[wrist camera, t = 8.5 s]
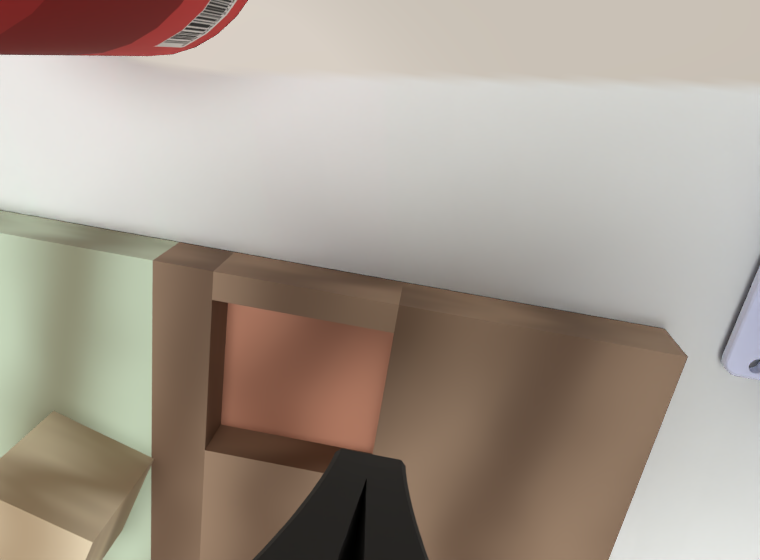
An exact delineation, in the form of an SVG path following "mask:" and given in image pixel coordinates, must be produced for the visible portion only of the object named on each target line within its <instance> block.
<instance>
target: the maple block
mask: <svg viewBox="0 0 760 560" xmlns="http://www.w3.org/2000/svg"><path fill="white" fill-rule="evenodd" d="M153 460H154V458H152V457H149V456H147V455H145V454H143V453H141V452H139V451H137V450H135V449H133V448H131V447H128V446H126V445H124V444H122V443H120V442H118V441H116V440H114V439H112V438H110V437H107V436H105V435H103V434H101V433H99V432H97V431H95V430H93V429H91V428H89V427H86V426H84V425H82V424H80V423H78V422H76V421H74V420H72V419H70V418H68V417H65V416H63V415H61V414H59V413H57V412H55V411H53V412H52V413H50V414H49V415H48V416H47V417H46V418H45V419H44V420H43V421H41V422H40V423H39V424H38V425H37V426H36V427H35V428H34V429H33V430H31V431H30V432H29V433H28V434H27V435H26V436H25V437H24V438H22V439H21V440H20V441H19V442H18V443H17V444H16V445H15V446H14V447H12V448H11V449H10V450H9V451H8V452H7V453H6V454H5V455H3V456H2V457H1V458H0V560H102V559H103V558H104V556H105V555H106V553H107V552H108V551H109V549H110V548H111V546H112V545H113V543H114V542H115V540H116V539H117V537H118V536H119V535H120V533H121V532H122V530H123V528H124V525H125V523H126V521H127V519H128V516H129V514H130V512H131V510H132V507H133V505H134V503H135V501H136V498H137V496H138V494H139V492H140V489H141V487H142V485H143V483H144V480H145V478H146V476H147V474H148V471H149V469H150V467H151V464H152V462H153Z"/></svg>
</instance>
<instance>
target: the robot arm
mask: <svg viewBox="0 0 760 560" xmlns="http://www.w3.org/2000/svg"><path fill="white" fill-rule="evenodd" d="M757 359H760V266H759V268H758V271H757V273H756V276H755V278H754V280H753V283H752V285H751V288H750V290H749V293H748V295H747V297H746V300H745V302H744V305H743V307H742V309H741V312H740V314H739V317H738V319H737V321H736V324H735V326H734V329H733V331H732V333H731V336H730V338H729V341H728V343H727V345H726V348H725V350H724V353H723V355H722V359H721V362H722V365H723V367H724V368H725V369H726V370H727V371H728V372H729V373H730V374H732V375H735V376H739V377H745V378H750V379H756V380H760V362H759V363H758V365H757V366H755V367H749V364H750V363H751V362H752V361H754V360H757ZM253 560H429V559H428V556H427V553H426V550H425V547H424V544H423V541H422V538H421V535H420V532H419V528H418V525H417V522H416V518H415V515H414V511H413V507H412V503H411V499H410V494H409V489H408V484H407V477H406V466H405V464H404V463H403V462H402V460H399V459H394V458H389V457H383V456H378V455H373V454H368V453H363V452H357V451H352V450H347V449H340V450H338V451H336V452H335V454H334V456H333V458H332V460H331V462H330V464H329V465H328V467H327V469H326V470H325V472H324V473H323V475H322V477H321V478H320V480H319V481H318V482H317V484H316V485H315V487H314V488H313V490H312V491H311V492H310V494H309V495H308V496H307V497H306V499H305V500H304V501H303V503H302V504H301V505H300V506H299V508H298V509H297V510H296V512H295V513H294V514H293V515H292V517H291V518H290V519H289V520H288V521H287V523H286V524H285V525H284V526H283V527H282V528H281V529H280V530H279V532H278V533H277V534H276V535H275V536H274V537H273V538H272V539H271V540H270V542H269V543H268V544H267V545H266V546H265V547H264V548H263V549H262V550H261V551H260V552H259V553H258V554H257V555H256V556H255V558H254V559H253Z"/></svg>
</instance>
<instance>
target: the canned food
mask: <svg viewBox="0 0 760 560" xmlns="http://www.w3.org/2000/svg"><path fill="white" fill-rule="evenodd" d="M247 1H248V0H0V55H101V56H153V55H154V56H155V55H168V54H175V53H178V52H181V51H185V50H188V49H191V48H194V47H197V46H198V45H200V44H201V43H203V42H205V41H207V40H209V39H210V38H212V37H214V36H215V35H217V34H218V33H219V32H220V31H221V30H222V29H223V28H224V27H226V26H227V25H228V24H229V23H230V22H231V21H232V20H233V19H234V18H235V17H236V16H237V15H238V14H239V12H240V11H241V9H242V8H243V7H244V5H245V4H246V2H247Z"/></svg>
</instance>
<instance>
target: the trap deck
mask: <svg viewBox="0 0 760 560" xmlns="http://www.w3.org/2000/svg"><path fill="white" fill-rule="evenodd" d="M686 360H687V355H686V354H685V353H684V352H683V351H682V349H681V348H680V347H679V346H678V344H677V343H676V342H675V341H674V340H673V338H672V337H671V336H670V335H669V334H668V332H667V331H666V330H665V329H662V328H657V327H651V326H646V325H640V324H634V323H629V322H623V321H618V320H612V319H606V318H601V317H595V316H590V315H584V314H578V313H573V312H567V311H562V310H556V309H550V308H545V307H539V306H534V305H528V304H522V303H517V302H511V301H505V300H500V299H494V298H489V297H483V296H477V295H472V294H466V293H461V292H455V291H449V290H444V289H438V288H433V287H427V286H421V285H416V284H410V283H405V282H399V281H393V280H388V279H382V278H377V277H371V276H365V275H360V274H354V273H349V272H343V271H337V270H332V269H326V268H321V267H315V266H309V265H304V264H298V263H293V262H287V261H281V260H276V259H270V258H265V257H259V256H253V255H248V254H242V253H236V252H231V251H225V250H220V249H214V248H208V247H203V246H197V245H192V244H186V243H180V242H175V241H169V240H164V239H158V238H152V237H147V236H141V235H136V234H130V233H124V232H119V231H113V230H108V229H102V228H96V227H91V226H85V225H80V224H74V223H68V222H63V221H57V220H52V219H46V218H40V217H35V216H29V215H24V214H18V213H12V212H7V211H1V210H0V458H1V457H2V456H3V455H5V454H6V453H7V452H8V451H9V450H10V449H11V448H12V447H14V446H15V445H16V444H17V443H18V442H19V441H20V440H21V439H22V438H24V437H25V436H26V435H27V434H28V433H29V432H30V431H31V430H33V429H34V428H35V427H36V426H37V425H38V424H39V423H40V422H41V421H43V420H44V419H45V418H46V417H47V416H48V415H49V414H50V413H52V412H53V411H55V412H57V413H59V414H61V415H63V416H65V417H68V418H70V419H72V420H74V421H76V422H78V423H80V424H82V425H84V426H86V427H89V428H91V429H93V430H95V431H97V432H99V433H101V434H103V435H105V436H107V437H110V438H112V439H114V440H116V441H118V442H120V443H122V444H124V445H126V446H128V447H131V448H133V449H135V450H137V451H139V452H141V453H143V454H145V455H147V456H149V457H152V458H154V460H153V462H152V464H151V467H150V469H149V471H148V474H147V476H146V478H145V480H144V483H143V485H142V487H141V489H140V492H139V494H138V496H137V498H136V501H135V503H134V505H133V507H132V510H131V512H130V514H129V516H128V519H127V521H126V523H125V525H124V528H123V530H122V532H121V533H120V535H119V536H118V537H117V539H116V540H115V542H114V543H113V545H112V546H111V548H110V549H109V551H108V552H107V553H106V555H105V556H104V558H103V559H102V560H253V559H254V558H255V556H256V555H257V554H258V553H259V552H260V551H261V550H262V549H263V548H264V547H265V546H266V545H267V544H268V543H269V542H270V540H271V539H272V538H273V537H274V536H275V535H276V534H277V533H278V532H279V530H280V529H281V528H282V527H283V526H284V525H285V524H286V523H287V521H288V520H289V519H290V518H291V517H292V515H293V514H294V513H295V512H296V510H297V509H298V508H299V506H300V505H301V504H302V503H303V501H304V500H305V499H306V497H307V496H308V495H309V494H310V492H311V491H312V490H313V488H314V487H315V485H316V484H317V482H318V481H319V480H320V478H321V477H322V475H323V473H324V472H325V470H326V469H327V467H328V465H329V464H330V462H331V460H332V458H333V456H334V454H335V452H336V451H338V450H340V449H347V450H352V451H357V452H363V453H368V454H373V455H378V456H383V457H389V458H394V459H399V460H402V462H403V463H404V464H405V466H406V477H407V484H408V489H409V494H410V499H411V503H412V507H413V511H414V515H415V518H416V522H417V525H418V528H419V532H420V535H421V538H422V541H423V544H424V547H425V550H426V553H427V556H428V559H429V560H608V559H609V557H610V554H611V552H612V549H613V546H614V544H615V541H616V539H617V536H618V534H619V531H620V529H621V526H622V523H623V521H624V518H625V516H626V513H627V511H628V508H629V506H630V503H631V500H632V498H633V495H634V493H635V490H636V488H637V485H638V483H639V480H640V477H641V475H642V472H643V470H644V467H645V465H646V462H647V460H648V457H649V454H650V452H651V449H652V447H653V444H654V442H655V439H656V437H657V434H658V431H659V429H660V426H661V424H662V421H663V419H664V416H665V414H666V411H667V408H668V406H669V403H670V401H671V398H672V396H673V393H674V391H675V388H676V386H677V383H678V380H679V378H680V375H681V373H682V370H683V368H684V365H685V363H686Z"/></svg>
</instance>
